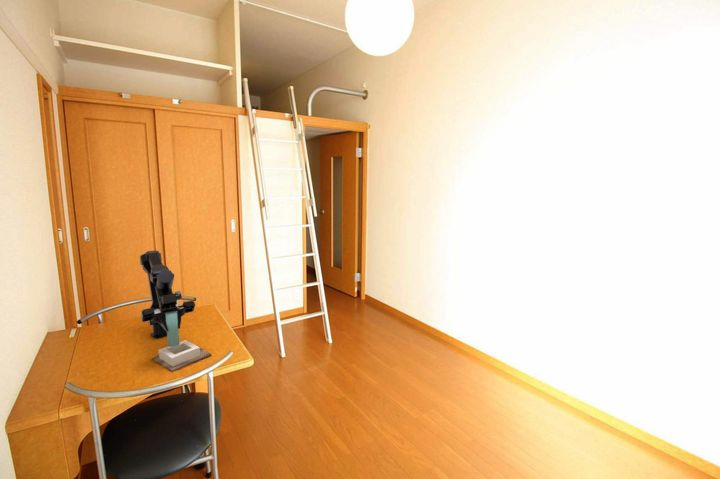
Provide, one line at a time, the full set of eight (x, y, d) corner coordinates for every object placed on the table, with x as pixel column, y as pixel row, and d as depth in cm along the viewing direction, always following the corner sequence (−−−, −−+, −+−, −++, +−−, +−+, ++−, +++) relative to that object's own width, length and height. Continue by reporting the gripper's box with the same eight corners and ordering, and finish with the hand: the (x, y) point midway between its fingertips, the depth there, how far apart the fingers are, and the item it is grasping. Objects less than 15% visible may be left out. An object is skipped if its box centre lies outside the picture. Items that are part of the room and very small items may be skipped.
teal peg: (165, 345, 138) (163, 314, 136) (173, 341, 142) (171, 310, 140) (173, 347, 137) (171, 315, 135) (181, 342, 141) (179, 311, 139)
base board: (152, 359, 141) (152, 357, 141) (191, 344, 154) (191, 343, 154) (172, 372, 132) (171, 370, 132) (211, 355, 145) (211, 353, 145)
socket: (159, 357, 141) (158, 349, 140) (186, 347, 150) (185, 340, 149) (172, 366, 134) (171, 358, 134) (200, 355, 143) (199, 347, 143)
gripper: (139, 289, 133) (146, 326, 126) (192, 281, 145) (201, 314, 138) (138, 303, 140) (145, 339, 134) (188, 294, 152) (197, 327, 145)
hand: (173, 329), depth 138 cm, fingers closed on teal peg, 4 cm apart
